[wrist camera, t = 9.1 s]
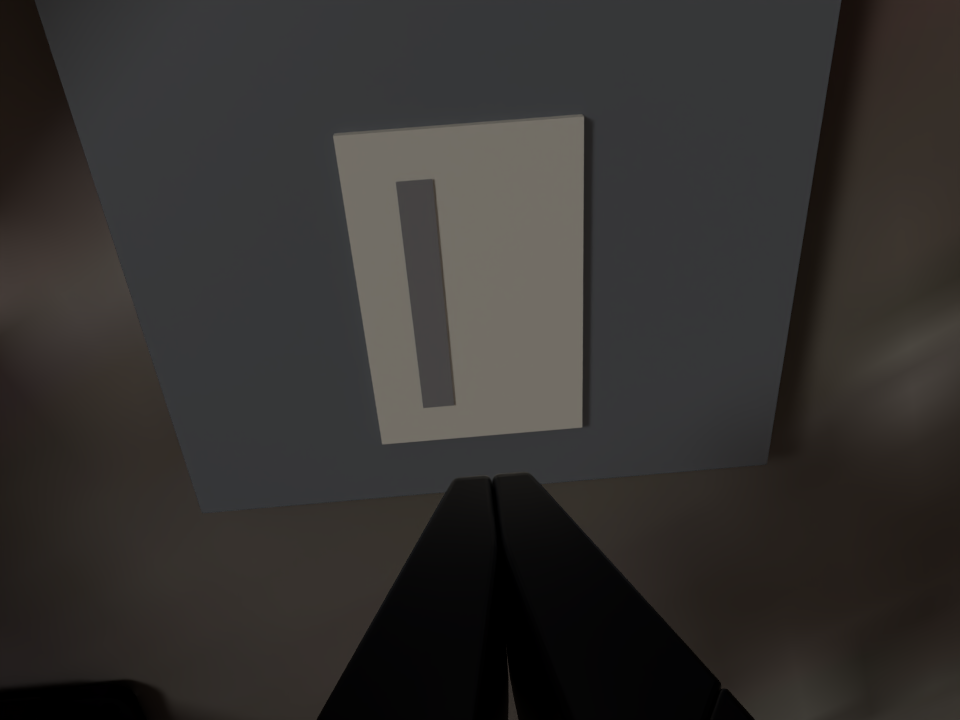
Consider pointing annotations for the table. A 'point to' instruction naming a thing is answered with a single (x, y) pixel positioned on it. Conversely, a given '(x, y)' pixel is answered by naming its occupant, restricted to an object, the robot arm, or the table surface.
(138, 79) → the label board
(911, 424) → the table surface
